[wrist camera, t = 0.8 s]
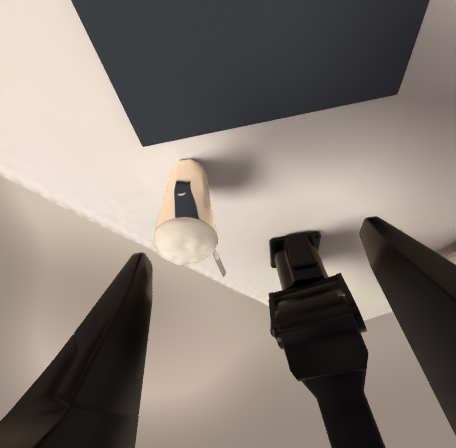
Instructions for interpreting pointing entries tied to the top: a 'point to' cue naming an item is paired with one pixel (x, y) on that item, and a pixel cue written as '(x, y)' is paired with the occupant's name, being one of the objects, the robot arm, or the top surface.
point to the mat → (246, 58)
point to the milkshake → (186, 217)
